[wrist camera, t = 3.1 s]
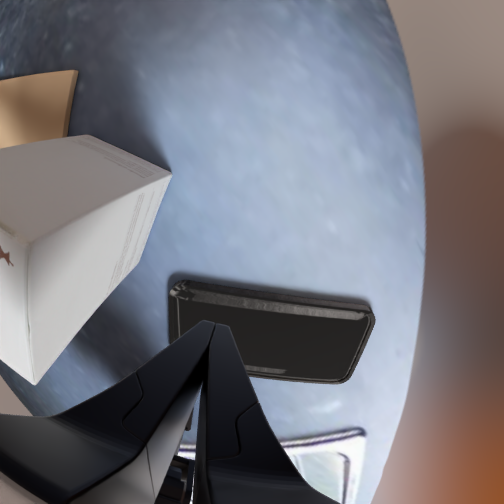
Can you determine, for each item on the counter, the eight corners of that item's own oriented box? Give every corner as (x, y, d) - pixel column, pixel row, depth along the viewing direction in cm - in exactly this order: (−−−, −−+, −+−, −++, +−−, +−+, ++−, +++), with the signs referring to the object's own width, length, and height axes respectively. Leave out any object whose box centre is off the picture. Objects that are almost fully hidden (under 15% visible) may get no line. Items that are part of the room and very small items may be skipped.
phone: (168, 282, 20) (380, 311, 19) (173, 274, 21) (375, 303, 20) (171, 363, 23) (346, 386, 22) (174, 355, 24) (344, 377, 24)
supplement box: (88, 131, 17) (-71, 159, 5) (176, 173, 18) (32, 248, 6) (62, 222, 19) (-60, 302, 8) (139, 266, 20) (36, 393, 9)
